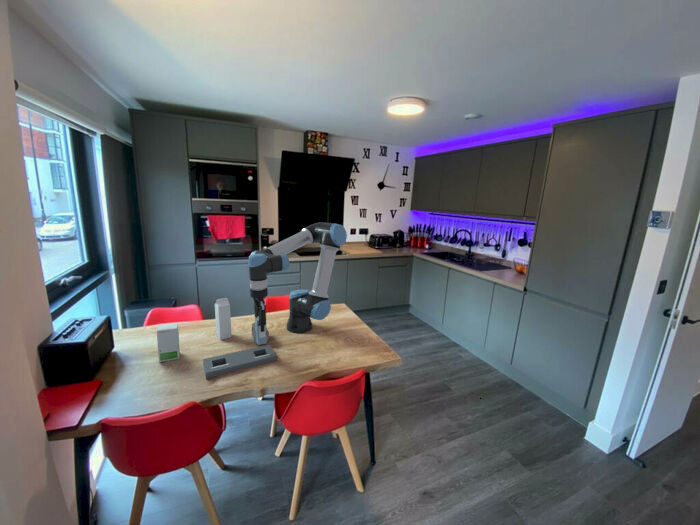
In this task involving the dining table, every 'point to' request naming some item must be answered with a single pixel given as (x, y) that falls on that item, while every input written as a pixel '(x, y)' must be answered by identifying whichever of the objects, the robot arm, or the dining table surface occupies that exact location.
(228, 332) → the milk
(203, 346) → the dining table surface
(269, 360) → the panel
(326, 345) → the dining table surface
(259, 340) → the plug
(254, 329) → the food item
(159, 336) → the skincare box
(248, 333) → the dining table surface
